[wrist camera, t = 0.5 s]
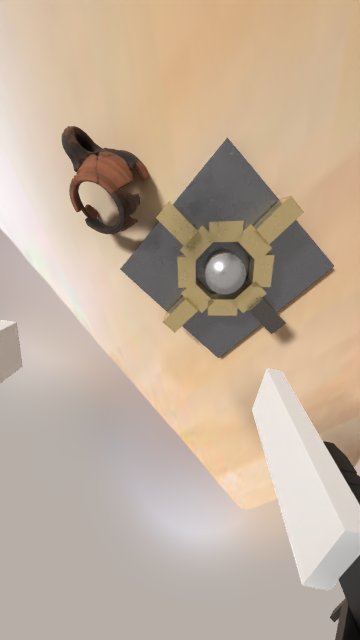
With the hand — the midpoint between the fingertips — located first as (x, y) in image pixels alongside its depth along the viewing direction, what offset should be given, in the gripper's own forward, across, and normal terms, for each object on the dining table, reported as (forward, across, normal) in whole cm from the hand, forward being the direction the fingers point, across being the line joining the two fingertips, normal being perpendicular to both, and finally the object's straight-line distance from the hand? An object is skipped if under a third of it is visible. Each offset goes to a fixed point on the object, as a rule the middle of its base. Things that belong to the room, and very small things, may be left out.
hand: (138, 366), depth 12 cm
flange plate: (+25, +6, +3) cm, 26 cm away
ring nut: (+24, +6, +3) cm, 25 cm away
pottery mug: (+25, -11, +11) cm, 30 cm away
